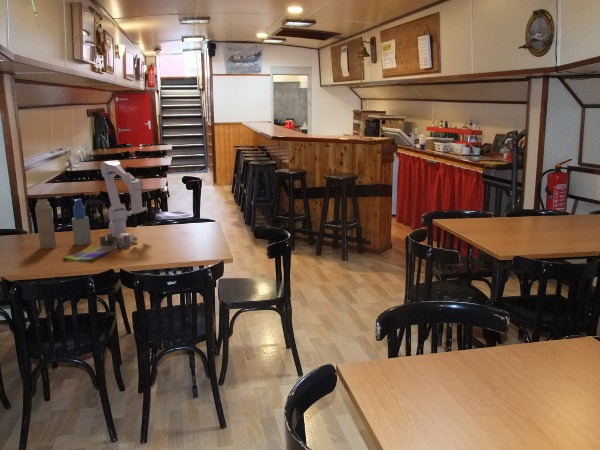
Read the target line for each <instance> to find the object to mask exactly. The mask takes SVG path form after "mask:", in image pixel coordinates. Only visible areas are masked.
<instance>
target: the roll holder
mask: <svg viewBox="0 0 600 450" xmlns="http://www.w3.org/2000/svg"><path fill="white" fill-rule="evenodd" d="M115 238H116V237H115ZM99 246H115V247H117V248H118V249H117V251H121V250H124V249H126V248H129V247H131V246H133V243H130V239H129V235H125V236H124V242H123V241H122V237H119V238H116V242H114V237H113V234H112V233H109V232H108V233H107V234H102V235H100V236H99Z"/></svg>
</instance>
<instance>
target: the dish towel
mask: <svg viewBox="0 0 600 450" xmlns="http://www.w3.org/2000/svg"><path fill="white" fill-rule="evenodd" d="M117 249H118V248H117V247H115V246H100V245H95V244H94V245H90V246H88V247H86V248H84V249H83V250H80V251H79V252H76V253H74V254H71V255H68V256H63V257H62V260H63V261H64V260H66V261H65V262H71V261H74V262H73V263H87V264H89V263H93V262H96V261H97V260H99V259H102V258H105V257H106V256H110V255H111V254H114V253H116V252H117V251H118V250H117Z"/></svg>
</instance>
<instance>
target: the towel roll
mask: <svg viewBox="0 0 600 450" xmlns="http://www.w3.org/2000/svg"><path fill="white" fill-rule="evenodd" d="M125 235H129V239H130V244H135V243H137V241H138V237H137V235H136V234H134V233H120V234H119V236H118V238H119V237H122V241H123V242H124V236H125Z"/></svg>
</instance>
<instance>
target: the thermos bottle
mask: <svg viewBox="0 0 600 450" xmlns="http://www.w3.org/2000/svg"><path fill="white" fill-rule="evenodd" d="M36 200H37V201H36V203H35V207H34V209H35V217H36V226H37V232H38V239H39V241H38V242H39V249H41V248H45V249H44V250H47V249H46V248H51V249H54V248H53V247H55V248H56V247H57V242H56V234H55V227H54V216H53V210H52V206H50V205H51V204H50V202H49V201H48V196H38V197H36Z"/></svg>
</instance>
